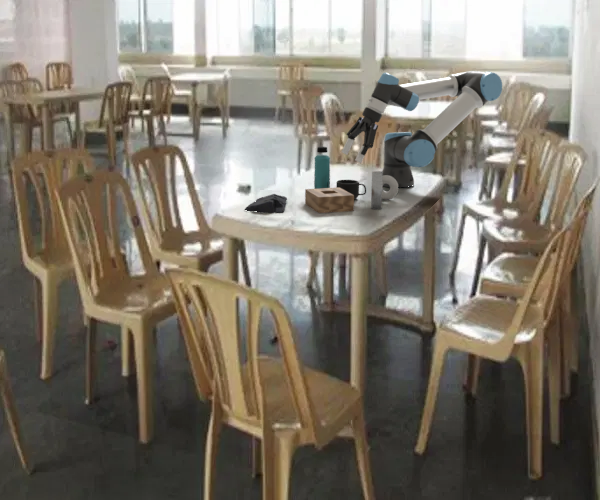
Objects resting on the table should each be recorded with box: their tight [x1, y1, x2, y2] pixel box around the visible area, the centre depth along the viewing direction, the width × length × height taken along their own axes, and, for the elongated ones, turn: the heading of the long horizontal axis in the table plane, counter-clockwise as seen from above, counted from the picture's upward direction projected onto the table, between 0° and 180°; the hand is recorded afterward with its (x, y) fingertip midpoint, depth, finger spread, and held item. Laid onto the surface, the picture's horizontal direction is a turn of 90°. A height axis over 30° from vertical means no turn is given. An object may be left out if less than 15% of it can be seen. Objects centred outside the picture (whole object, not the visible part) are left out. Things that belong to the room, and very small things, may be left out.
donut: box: [382, 175, 400, 201], centre depth 336 cm, size 10×3×10 cm, turn 67°
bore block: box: [304, 187, 355, 214], centre depth 321 cm, size 14×16×6 cm
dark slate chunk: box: [244, 193, 288, 214], centre depth 322 cm, size 15×22×5 cm
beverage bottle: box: [313, 146, 331, 189], centre depth 342 cm, size 6×7×20 cm
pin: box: [370, 170, 383, 210], centre depth 320 cm, size 4×4×14 cm
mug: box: [335, 179, 367, 200], centre depth 337 cm, size 12×9×7 cm
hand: (350, 157), depth 344 cm, fingers open, 13 cm apart
